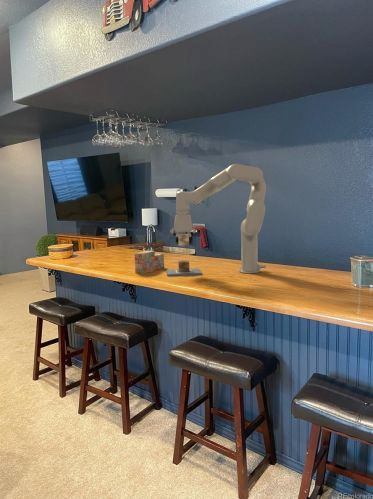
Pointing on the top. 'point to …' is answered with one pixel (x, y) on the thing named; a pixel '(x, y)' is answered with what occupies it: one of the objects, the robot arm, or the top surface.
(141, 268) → the stack of blocks
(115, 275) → the top surface
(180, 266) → the walnut cube
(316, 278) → the top surface
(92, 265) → the top surface
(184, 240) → the maple cube
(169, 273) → the board
